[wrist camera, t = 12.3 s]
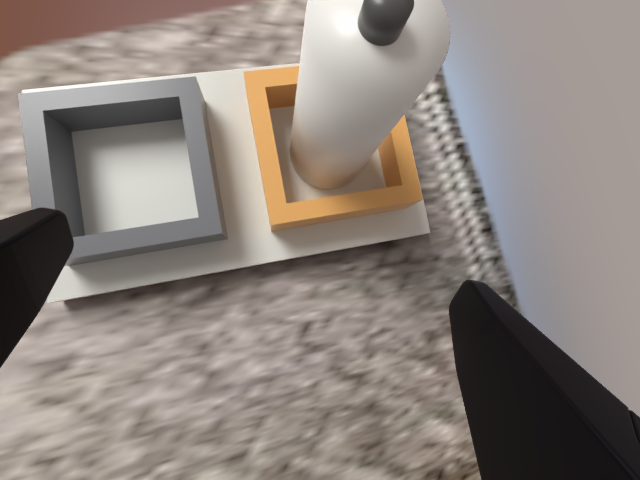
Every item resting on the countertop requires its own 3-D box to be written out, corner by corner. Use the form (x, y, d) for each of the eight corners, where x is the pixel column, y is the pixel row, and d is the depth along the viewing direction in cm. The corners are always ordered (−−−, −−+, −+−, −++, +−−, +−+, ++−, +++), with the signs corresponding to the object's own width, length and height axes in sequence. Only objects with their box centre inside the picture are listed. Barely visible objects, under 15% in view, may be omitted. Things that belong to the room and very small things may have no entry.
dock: (423, 234, 23) (450, 226, 20) (58, 301, 20) (13, 306, 16) (386, 63, 24) (405, 27, 21) (33, 99, 21) (-15, 63, 17)
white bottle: (351, 199, 22) (446, 99, 10) (279, 175, 21) (287, 40, 9) (371, 131, 22) (482, -39, 10) (302, 107, 22) (335, -99, 10)
